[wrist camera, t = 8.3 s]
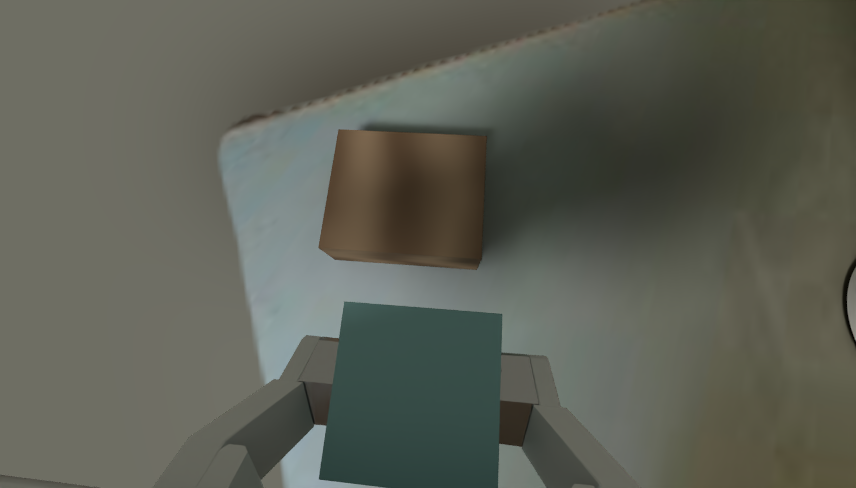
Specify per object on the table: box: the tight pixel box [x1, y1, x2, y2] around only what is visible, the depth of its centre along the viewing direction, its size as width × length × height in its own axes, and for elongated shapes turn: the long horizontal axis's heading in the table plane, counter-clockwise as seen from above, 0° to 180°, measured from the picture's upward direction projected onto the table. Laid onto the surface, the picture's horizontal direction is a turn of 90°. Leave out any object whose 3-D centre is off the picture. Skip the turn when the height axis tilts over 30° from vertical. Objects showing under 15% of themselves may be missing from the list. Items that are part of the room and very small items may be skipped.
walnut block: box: [319, 130, 487, 270], centre depth 28 cm, size 12×10×4 cm
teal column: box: [319, 302, 502, 488], centre depth 12 cm, size 4×4×8 cm
